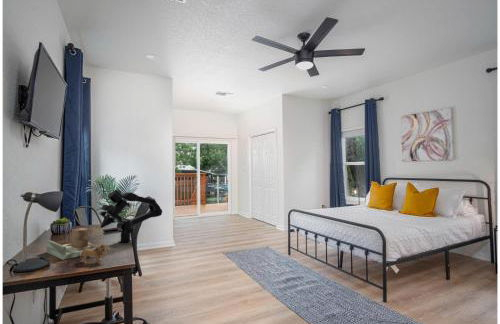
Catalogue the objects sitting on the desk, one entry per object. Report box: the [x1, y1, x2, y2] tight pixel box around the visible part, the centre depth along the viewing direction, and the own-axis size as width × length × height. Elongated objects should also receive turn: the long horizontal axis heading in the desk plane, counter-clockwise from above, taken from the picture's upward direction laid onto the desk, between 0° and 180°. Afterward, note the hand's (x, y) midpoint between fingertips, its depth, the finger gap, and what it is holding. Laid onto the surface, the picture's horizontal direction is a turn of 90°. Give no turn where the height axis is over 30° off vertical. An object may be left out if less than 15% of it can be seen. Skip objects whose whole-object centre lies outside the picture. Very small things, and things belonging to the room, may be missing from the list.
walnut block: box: [71, 227, 89, 248], centre depth 170 cm, size 6×7×10 cm
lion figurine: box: [76, 243, 109, 265], centre depth 150 cm, size 15×5×9 cm, turn 105°
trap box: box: [46, 239, 101, 261], centre depth 168 cm, size 20×22×6 cm
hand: (100, 227), depth 180 cm, fingers closed
